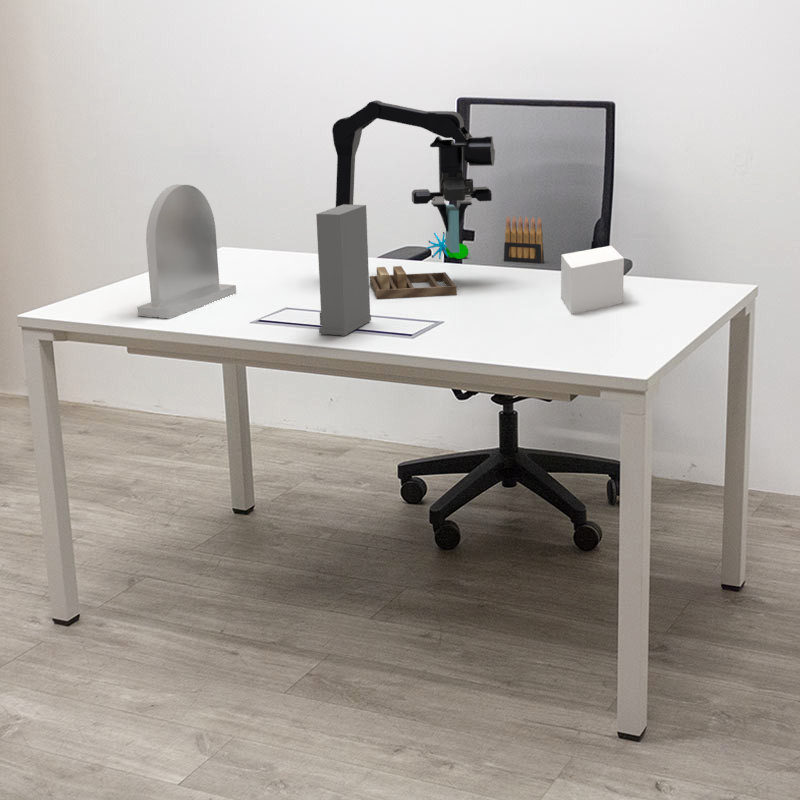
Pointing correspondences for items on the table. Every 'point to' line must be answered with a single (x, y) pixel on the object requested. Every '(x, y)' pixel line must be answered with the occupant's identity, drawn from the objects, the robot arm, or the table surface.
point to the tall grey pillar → (343, 269)
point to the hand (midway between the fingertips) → (452, 231)
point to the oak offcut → (399, 277)
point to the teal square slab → (452, 229)
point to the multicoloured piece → (458, 255)
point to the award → (182, 254)
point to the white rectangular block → (592, 279)
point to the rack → (416, 292)
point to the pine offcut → (382, 278)
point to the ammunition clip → (523, 242)
